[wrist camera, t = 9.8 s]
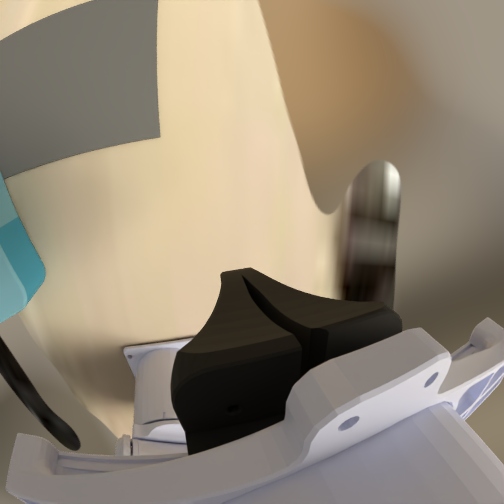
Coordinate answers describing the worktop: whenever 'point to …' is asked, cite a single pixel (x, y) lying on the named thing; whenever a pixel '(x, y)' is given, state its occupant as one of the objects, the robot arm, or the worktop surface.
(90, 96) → the mat
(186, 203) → the worktop surface
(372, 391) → the robot arm
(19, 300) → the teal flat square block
